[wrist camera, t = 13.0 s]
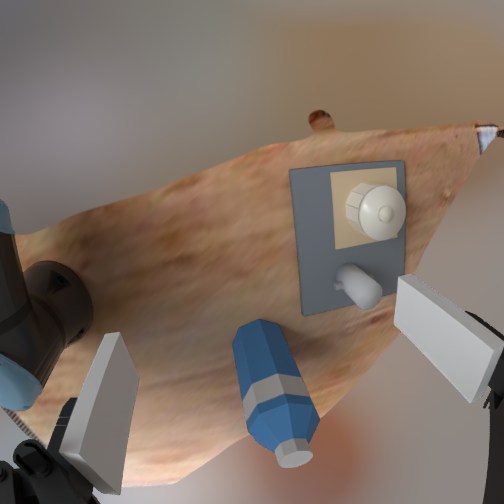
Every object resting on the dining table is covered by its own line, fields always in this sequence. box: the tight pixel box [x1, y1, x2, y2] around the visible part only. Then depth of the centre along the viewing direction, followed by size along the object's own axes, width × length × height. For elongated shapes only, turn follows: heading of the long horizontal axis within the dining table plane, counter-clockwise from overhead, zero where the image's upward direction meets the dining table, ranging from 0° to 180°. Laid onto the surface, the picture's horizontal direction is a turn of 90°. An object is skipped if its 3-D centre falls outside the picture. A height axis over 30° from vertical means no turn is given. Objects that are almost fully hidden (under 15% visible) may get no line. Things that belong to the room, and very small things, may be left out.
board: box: [289, 160, 406, 316], centre depth 43 cm, size 20×24×9 cm
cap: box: [345, 182, 406, 241], centre depth 42 cm, size 8×8×6 cm
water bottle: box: [232, 319, 320, 468], centre depth 39 cm, size 9×9×25 cm
